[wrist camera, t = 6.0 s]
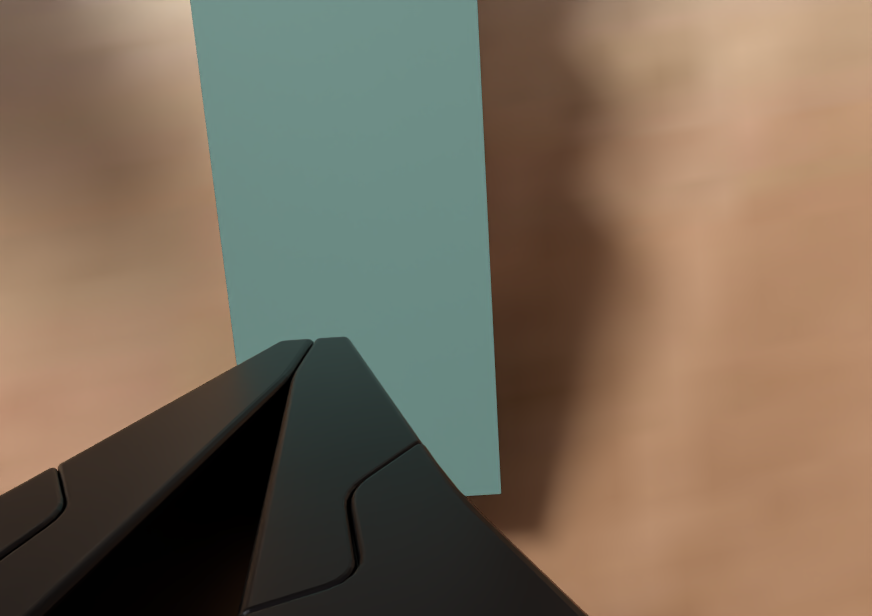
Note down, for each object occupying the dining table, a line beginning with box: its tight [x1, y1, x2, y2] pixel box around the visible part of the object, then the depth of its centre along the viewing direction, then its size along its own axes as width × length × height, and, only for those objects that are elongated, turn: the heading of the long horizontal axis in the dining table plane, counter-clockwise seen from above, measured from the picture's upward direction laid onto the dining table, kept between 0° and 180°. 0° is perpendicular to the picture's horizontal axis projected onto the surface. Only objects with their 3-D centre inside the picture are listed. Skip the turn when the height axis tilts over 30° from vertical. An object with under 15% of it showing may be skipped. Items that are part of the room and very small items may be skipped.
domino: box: [190, 0, 501, 496], centre depth 14 cm, size 2×5×10 cm
